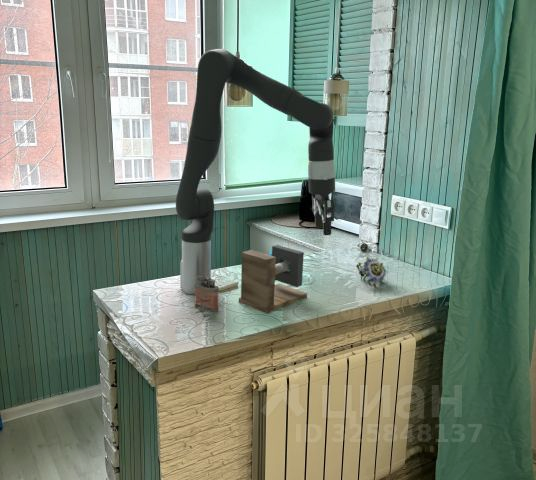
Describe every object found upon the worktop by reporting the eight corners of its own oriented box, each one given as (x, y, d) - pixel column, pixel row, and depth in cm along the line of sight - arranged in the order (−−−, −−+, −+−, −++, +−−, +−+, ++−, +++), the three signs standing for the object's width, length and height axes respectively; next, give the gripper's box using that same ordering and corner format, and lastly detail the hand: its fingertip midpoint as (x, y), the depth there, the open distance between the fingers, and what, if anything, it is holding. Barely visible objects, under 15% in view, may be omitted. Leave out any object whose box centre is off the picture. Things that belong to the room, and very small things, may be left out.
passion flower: (374, 302, 181) (369, 281, 173) (351, 287, 188) (344, 266, 180) (395, 280, 185) (390, 258, 176) (372, 267, 192) (366, 245, 183)
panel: (275, 276, 173) (277, 244, 170) (301, 285, 166) (303, 252, 163) (270, 278, 171) (272, 246, 168) (297, 287, 164) (298, 253, 161)
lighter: (220, 310, 156) (221, 278, 154) (214, 313, 153) (214, 281, 151) (199, 304, 160) (199, 273, 157) (192, 307, 157) (192, 276, 155)
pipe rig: (280, 286, 177) (282, 239, 172) (308, 296, 169) (311, 247, 165) (238, 302, 162) (239, 251, 158) (267, 313, 155) (269, 260, 150)
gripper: (302, 173, 155) (304, 227, 159) (315, 180, 141) (317, 238, 145) (327, 171, 156) (328, 224, 160) (342, 178, 142) (343, 236, 147)
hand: (323, 231), depth 153 cm, fingers open, 8 cm apart
